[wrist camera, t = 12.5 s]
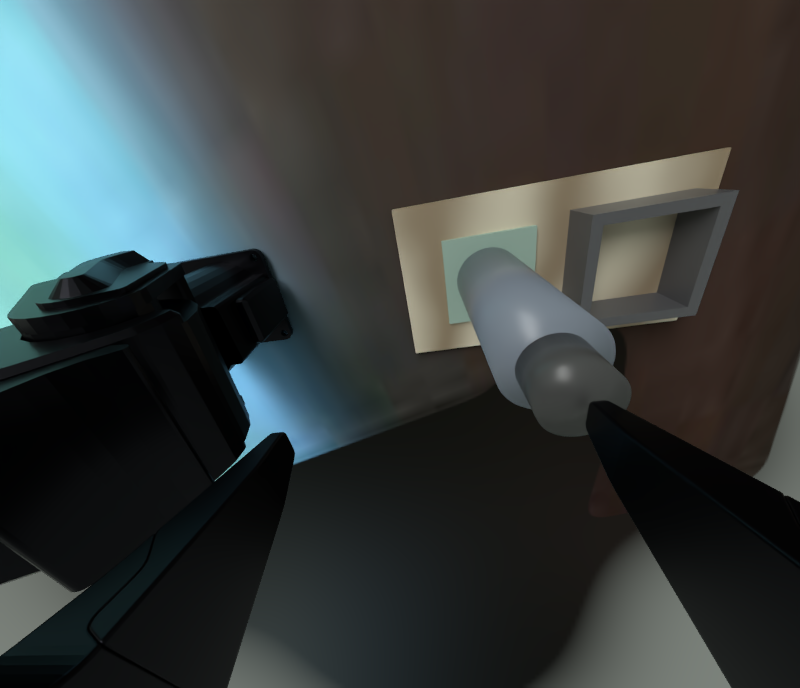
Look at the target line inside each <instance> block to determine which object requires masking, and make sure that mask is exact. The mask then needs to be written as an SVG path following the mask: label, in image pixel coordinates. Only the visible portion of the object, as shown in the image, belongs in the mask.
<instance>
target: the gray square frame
mask: <svg viewBox="0 0 800 688" xmlns="http://www.w3.org/2000/svg"><path fill="white" fill-rule="evenodd" d="M738 192H739V190H724V189H702V188H694V189H688V190H683V191H677V192H671V193H665V194H659V195H654V196H648V197H642V198H636V199H631V200H625V201H619V202H613V203H607V204H602V205H596V206H590V207H584V208H579V209H573V210H570V216H569V226H568V236H567V246H566V256H565V266H564V276H563V286H562V293H564V294H565V295H566V296H567V297H569V298H570V299H571V300H573V301H574V302H575V303H577V304H578V305H579V306H580V307H582V308H583V309H584V310H586V311H587V312H588V313H590V314H591V315H592V316H593V317H595V318H596V319H597V320H599V321H600V322H601V323H603V324H604V325H605V326H614V325H622V324H630V323H638V322H645V321H653V320H661V319H669V318H677V317H685V316H692V315H696V313H697V310H698V307H699V305H700V302H701V299H702V296H703V293H704V290H705V287H706V284H707V281H708V279H709V276H710V273H711V270H712V267H713V264H714V261H715V258H716V255H717V253H718V250H719V247H720V244H721V241H722V238H723V235H724V232H725V229H726V227H727V224H728V221H729V218H730V215H731V212H732V209H733V206H734V203H735V201H736V198H737V195H738ZM676 213H678V214H677V218H676V222H675V225H674V229H673V233H672V237H671V240H670V244H669V248H668V252H667V256H666V259H665V263H664V267H663V271H662V274H661V278H660V282H659V286H658V290H657V292H655V293H648V294H641V295H634V296H626V297H619V298H612V299H605V300H597V301H592V298H593V291H594V285H595V279H596V272H597V266H598V259H599V253H600V246H601V240H602V233H603V227H604V225H609V224H615V223H622V222H628V221H634V220H640V219H646V218H652V217H658V216H664V215H670V214H676Z"/></svg>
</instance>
